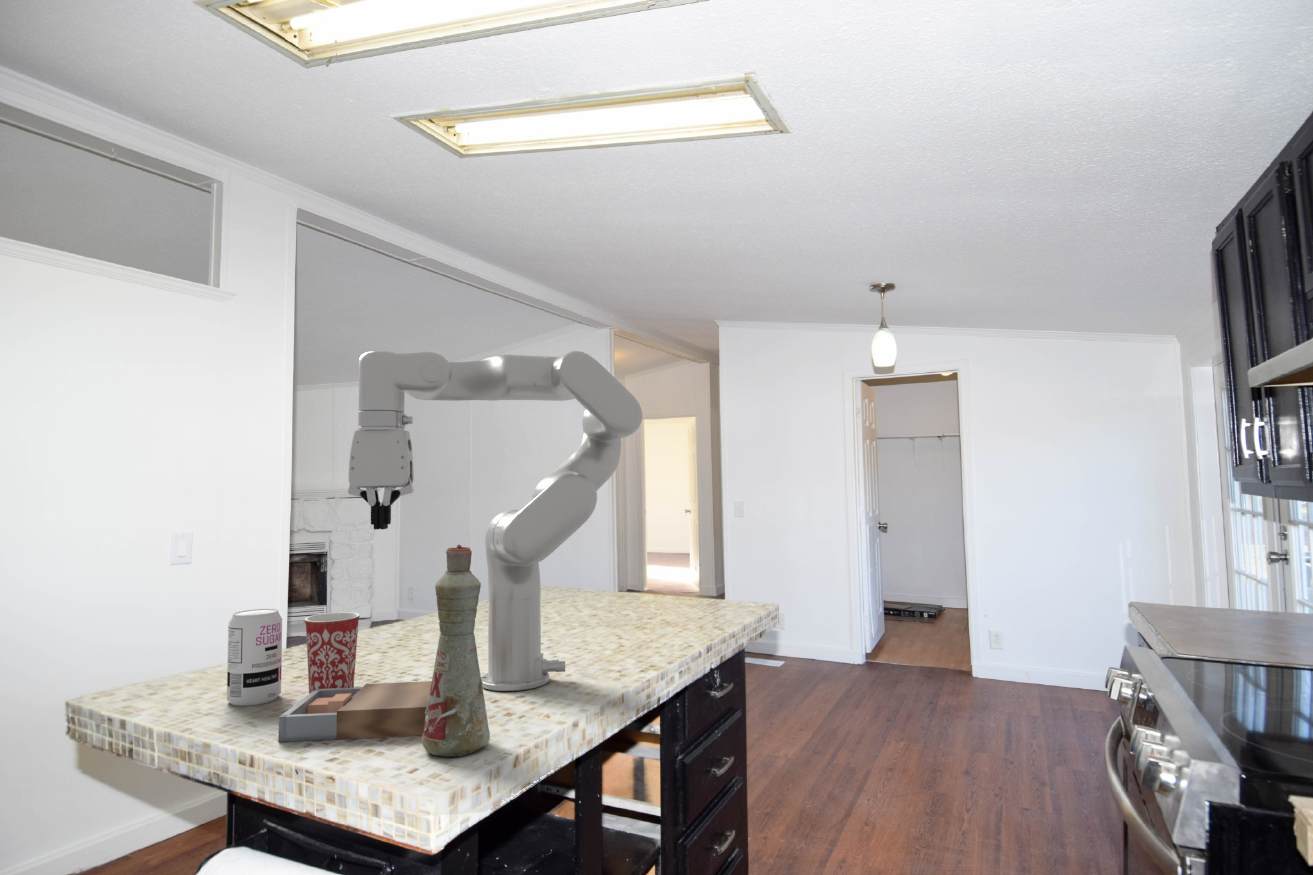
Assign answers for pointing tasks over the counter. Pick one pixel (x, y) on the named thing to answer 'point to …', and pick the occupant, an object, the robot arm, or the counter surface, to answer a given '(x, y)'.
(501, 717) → the counter surface
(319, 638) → the mug
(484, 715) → the bottle
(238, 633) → the supplement can
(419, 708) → the brown square platform
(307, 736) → the box
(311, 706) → the tile
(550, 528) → the robot arm
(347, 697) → the tile
